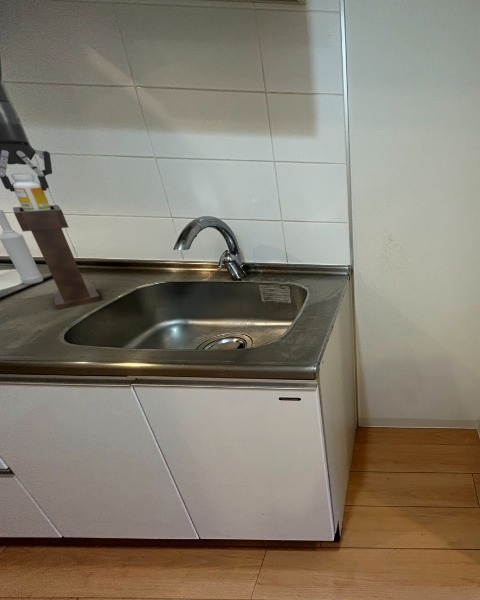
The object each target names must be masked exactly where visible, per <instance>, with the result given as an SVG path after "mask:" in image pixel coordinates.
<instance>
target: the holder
mask: <svg viewBox="0 0 480 600" xmlns="http://www.w3.org/2000/svg"><path fill="white" fill-rule="evenodd" d="M49 205H50V204H49ZM50 208H51V210H39V211H24V210H23V208H22V206H14V207H12V211H13V214H14V216H15V219H16V220H17V222H18V225H19V227H20V229H21V231H22V232H31V234H32V236H33V238H34V240H35V242H36V244H37V246H38V249H39V251H40V254H41V255H42V257H43V259H44V261H45V264H46V266H47V268H48V270H49V272H50V275H51V276H52V279H53V281H54V283H55V285H56V287H57V289H58V291H59V292H58V293H53V294H51V295H52V299H53V301H54V305H55V308H56V309H57V310H60V309H65V308H70V307H75V306H80V305H84V304H88V303H93V302H98V301H101V297H100V295H99V293H98V291H97V290H96V288H95V286H89V287H87V285H86V282H85V280H84V278H83V276H82V273H81V271H80V269H79V266H78V264H77V261H76V260H75V259H76V258H75V257H74V255H73V253H72V250H71V248H70V245H69V243H68V240H67V238H66V235H65V233H64V231H63V229H67V228H68V229H69V225H68V222H67V219H66V217H65V214H64V212H63V210H62V208H61V207H60V205H58V204H51V205H50Z"/></svg>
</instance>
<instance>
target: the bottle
mask: <svg viewBox="0 0 480 600" xmlns="http://www.w3.org/2000/svg"><path fill="white" fill-rule="evenodd" d="M0 227H1V229H2V233H1V234H0V243H1V244H2V246H3V247H4V250H5V252H6V253H7V255H8V257H9V259H10V260H11V262H12V264H13V265H14V267H15V269H16V271H17V273H18V275H19V276H20V281H21V282H22V283H23V284H25V285H33V284H38V283H42V282H43V281H44V277H43V275H42V274H41V272H40V270H39V268H38V266H37V264H36V262H35V259H34V257H33V255H32V253H31V250H30V248H29V245H28V244H27V242H26V239H25V237H24V235H23V233H22V234H21V233H19V232H17V231H15V229H13V228H12V226H11V224H10V222H9V220H8V218H7V215H6V213H5V212H4V210H3V209H0Z"/></svg>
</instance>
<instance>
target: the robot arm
mask: <svg viewBox="0 0 480 600" xmlns="http://www.w3.org/2000/svg"><path fill="white" fill-rule="evenodd" d="M3 76H4V75H3V65H2V53H1V52H0V180H1V183H2V185H3V187H4V188H5V189H6V190H9V192H10V193H11V192H14V193H15V191H14V189H13V187H12V184H13V183H12V182H11V180H10V178H9V176H7V168H8V165H23V166H24V165H26V166H28V167H29V168H31V170H32V171H33V172H34V173H35V174H36V175H37V176H36V178H37V180H38V181H39V182H38V183H39V184H41V186H42V189H43V191H44V192H45V191H48V189H49V187H50V186H49V183H48V181H47V179H46V176H48V175H53V167H52V159H51V154H50V152H49V151H48V150H38V149H35V148H33V147H32V145H31V144H30V142H29V139H28V136H27V134H26V133H25V129H24V127H23V125H22V122H21V119H20V117H19V115H18V112H17V110H16V109H15V107H14V105H13V104H12V101H11V99H10V97H9V96H10V95H9V93H8V92H7V90H6V87H5V84H4V77H3ZM35 155H37V156H38V157H39V159H42V160H43V166H44V169H42V170H41V169H40V168H39V167H38V166H37V165H36V164H35V163H34V162H33V161H32V160H33V158H34V156H35Z"/></svg>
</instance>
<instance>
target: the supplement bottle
mask: <svg viewBox="0 0 480 600" xmlns="http://www.w3.org/2000/svg"><path fill="white" fill-rule="evenodd" d="M10 175H11V178H12V180H13V181H14V182H12V183H11V184H12V187H13V189H14V191H15V192H14V193H15V196H16V197H17V200H18V203H19V204H20V207H22V208H23V210H24V211H39V210H51V208H50V203H49V200H48V198H47V195H46V193H45V191H43V189H42V186H41V184H40V182H37V181H35V180H36V179H35V176H34V174H33V173H11V174H10Z"/></svg>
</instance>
